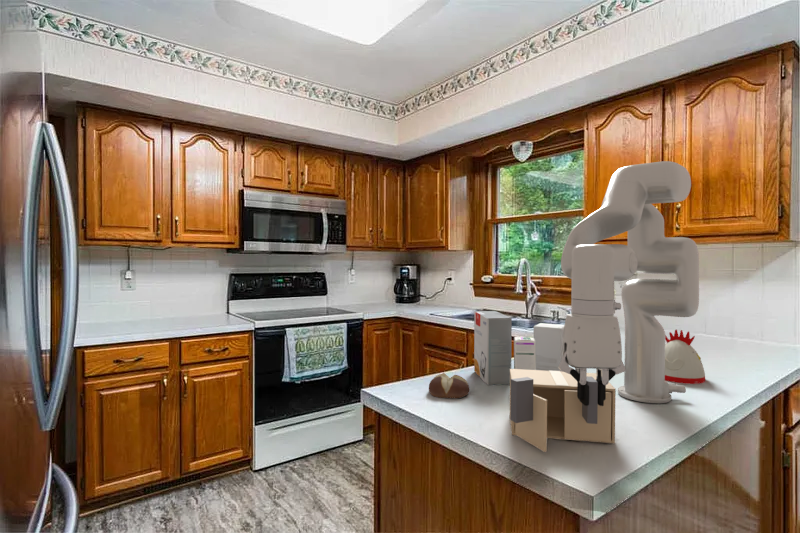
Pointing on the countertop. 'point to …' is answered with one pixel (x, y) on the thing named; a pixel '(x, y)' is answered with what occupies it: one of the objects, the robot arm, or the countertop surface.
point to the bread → (448, 386)
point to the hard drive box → (492, 346)
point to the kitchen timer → (682, 360)
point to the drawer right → (587, 415)
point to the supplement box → (548, 346)
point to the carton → (557, 398)
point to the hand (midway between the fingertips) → (591, 402)
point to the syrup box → (524, 353)
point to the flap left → (528, 413)
